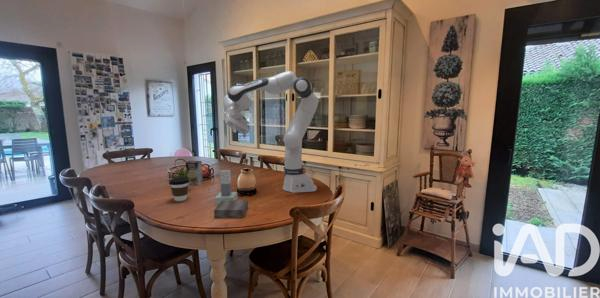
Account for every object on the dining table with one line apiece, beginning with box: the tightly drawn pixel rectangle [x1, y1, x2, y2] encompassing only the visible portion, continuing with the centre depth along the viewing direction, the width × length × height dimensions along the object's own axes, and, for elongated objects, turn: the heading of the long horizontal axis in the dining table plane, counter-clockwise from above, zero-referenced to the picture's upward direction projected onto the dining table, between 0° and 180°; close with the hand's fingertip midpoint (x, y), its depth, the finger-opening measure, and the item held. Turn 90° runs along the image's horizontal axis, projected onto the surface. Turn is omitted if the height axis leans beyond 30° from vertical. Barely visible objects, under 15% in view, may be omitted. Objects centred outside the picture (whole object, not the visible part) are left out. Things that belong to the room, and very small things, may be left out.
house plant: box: [172, 166, 191, 192], centre depth 180 cm, size 14×14×16 cm
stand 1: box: [214, 191, 238, 206], centre depth 159 cm, size 10×10×4 cm
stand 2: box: [213, 199, 249, 219], centre depth 143 cm, size 14×14×4 cm
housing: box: [219, 169, 232, 196], centre depth 158 cm, size 5×5×14 cm
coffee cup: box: [168, 177, 189, 202], centre depth 163 cm, size 11×11×12 cm
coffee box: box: [185, 160, 203, 186], centre depth 196 cm, size 9×6×16 cm
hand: (240, 134), depth 170 cm, fingers open, 8 cm apart
